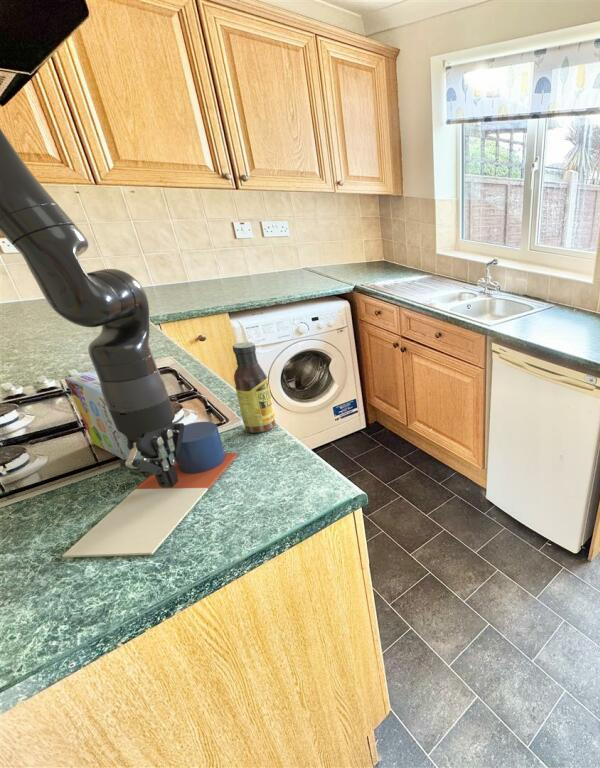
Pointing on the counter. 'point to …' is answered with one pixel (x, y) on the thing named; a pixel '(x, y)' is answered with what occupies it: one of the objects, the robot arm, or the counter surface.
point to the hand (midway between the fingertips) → (169, 484)
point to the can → (200, 448)
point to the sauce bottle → (252, 390)
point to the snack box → (97, 414)
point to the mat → (146, 515)
